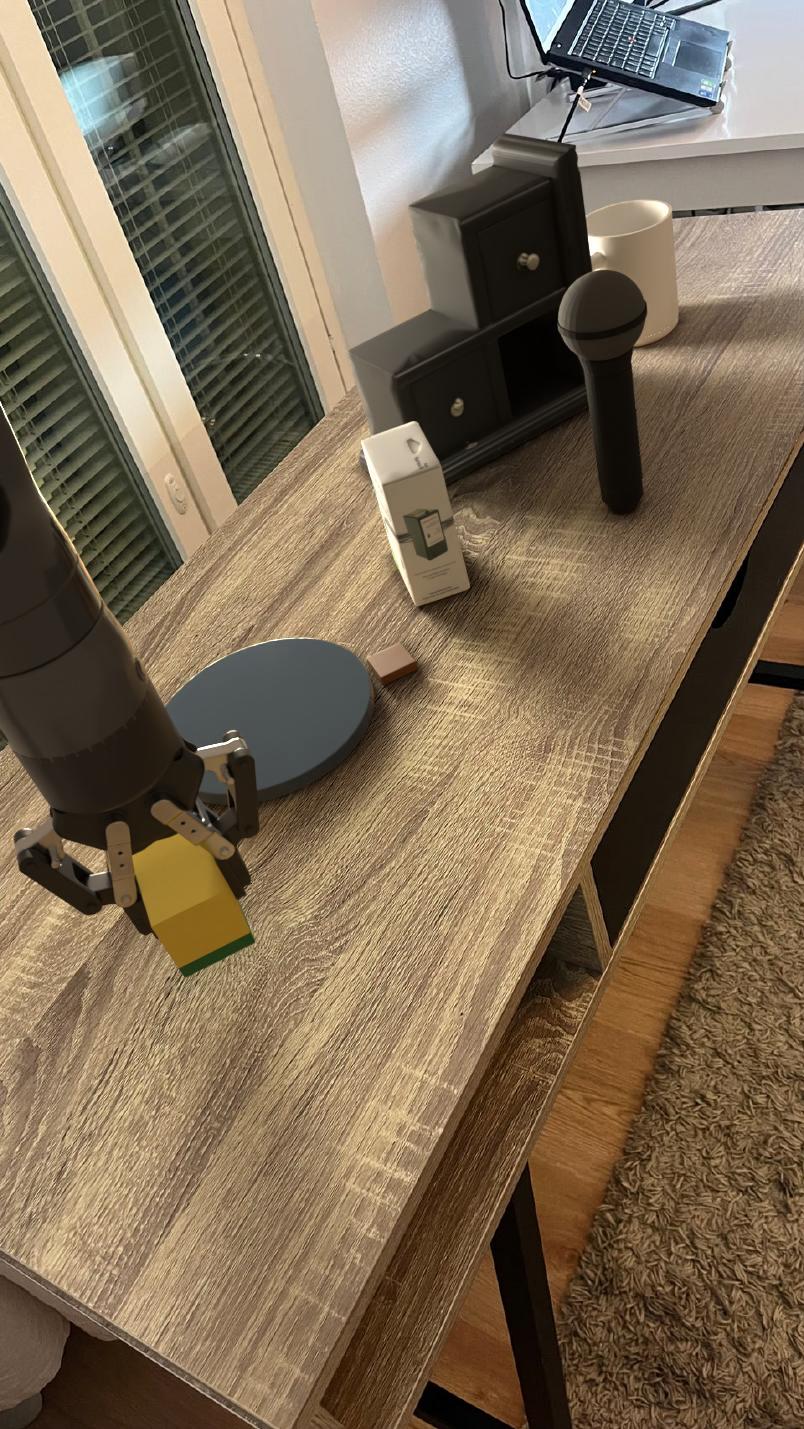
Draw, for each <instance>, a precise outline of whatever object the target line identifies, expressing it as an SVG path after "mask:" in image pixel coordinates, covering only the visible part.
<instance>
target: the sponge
mask: <svg viewBox="0 0 804 1429" xmlns="http://www.w3.org/2000/svg"><path fill="white" fill-rule="evenodd" d="M132 857H133V865H134V872H135V875H136V878H137V882H138V885H139V888H140V892H141V895H142V898H143V901H144V905H145V908H146V911H147V915H148V918H149V921H150V925H151V928H152V929H153V931H154V932H155V934H156V935H157V937H158V938H159V939H158V940H159V941H160V943H161V945H162V946H163V947H164V949H165V951H166V952H167V953H168V955H169V956H170V959H172V961H173V963H174V964H175V966H176V967H177V968H178V970H179V971H180V973H181V974H182V976H183V977H184V978H188V977H191V976H192V975H194V974H196V973H198V972H200V971H202V970H204V969H206V968H208V967H210V966H212V965H214V964H216V963H219V962H220V961H223V960H224V959H226V958H228V957H230V956H232V955H234V954H236V953H239V952H240V951H242V950H244V949H246V948H249V947H250V946H252V945H254V944H255V943H256V939H255V936H254V934H253V932H252V929H251V927H250V925H249V922H248V919H247V917H246V915H245V912H244V909H243V907H242V905H241V902H240V899H238V900H236V898H235V896H234V894H233V892H232V891H231V889H230V887H229V885H228V884H227V882H226V880H225V878H224V876H223V875H222V873H221V871H220V869H219V867H218V866H217V864H216V861H215V859H214V856H213V855H212V854H210V853H209V852H208V851H206V850H205V849H204V848H202V847H201V846H200V845H198V846H195V845H193V844H192V843H191V842H189V841H188V840H187V839H185V838H184V837H183V836H181V835H180V834H179V833H178V834H176V835H174V836H172V837H169V838H166V839H162V840H158V841H155V842H154V843H153V844H151V845H150V846H149V847H147V848H146V849H145V850H143V851H141V852H139V853H137V854H134V855H132Z"/></svg>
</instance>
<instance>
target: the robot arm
mask: <svg viewBox="0 0 804 1429" xmlns="http://www.w3.org/2000/svg"><path fill="white" fill-rule="evenodd" d="M34 478H35V477H34V476H33V474H32V471H31V469H30V466H29V464H28V462H27V459H26V457H25V455H24V452H23V450H22V448H21V446H20V443H19V441H18V439H17V436H16V435H15V431H14V430H13V428H12V425H11V423H10V421H9V419H8V416H7V414H6V412H5V410H4V408H3V406H2V403H1V402H0V738H1V740H2V741H3V742H5V743H6V744H7V745H8V747H9V748H10V749H11V751H12V753H13V754H14V755H15V757H16V758H17V760H18V762H19V763H20V765H21V766H22V767H23V770H25V772H26V773H27V775H28V776H29V777H30V779H31V781H32V782H33V783H34V786H36V788H37V789H38V791H39V792H40V793H41V795H42V796H43V798H44V800H45V801H46V803H47V804H48V805H49V816H50V818H49V819H47V820H46V821H45V822H43V823H42V824H41V825H40V826H38V827H37V828H35V829H33V828H29V827H26V828H24V827H23V828H21V829H19V830H17V831H16V832H15V833H14V834H13V844H14V851H15V858H16V862H17V866H18V870H19V872H20V873H21V874H23V875H25V876H26V877H27V878H29V879H30V880H32V881H33V882H35V883H36V884H38V885H39V886H41V887H43V889H45V890H46V891H48V892H50V893H51V894H53V895H54V896H56V897H57V898H59V899H60V900H62V901H63V902H65V903H66V904H68V905H69V906H71V907H72V908H74V909H75V910H77V911H79V912H80V913H81V914H83V915H85V916H93V915H96V914H98V913H100V912H101V911H102V909H103V907H105V906H108V905H109V906H110V905H116V906H117V907H118V908H121V909H122V910H123V911H124V913H125V914H126V916H127V917H128V919H129V920H130V922H131V923H132V925H133V926H134V927H135V929H136V930H137V932H138V933H139V934H141V935H143V936H145V937H146V936H149V935H150V934H152V935H153V936H154V938H155V939H156V940H159V938H158V937H157V935H156V934H155V932H154V931H153V929H152V928H151V925H150V921H149V918H148V915H147V911H146V908H145V905H144V901H143V898H142V895H141V892H140V888H139V885H138V882H137V878H136V875H135V872H134V865H133V857H132V855H134V854H137V853H139V852H141V851H143V850H145V849H146V848H147V847H149V846H150V845H151V844H153V843H154V842H155V841H158V840H162V839H166V838H169V837H172V836H174V835H176V834H178V833H179V834H180V835H181V836H183V837H184V838H185V839H187V840H188V841H189V842H191V843H192V844H193V845H195V846H198V845H200V846H201V847H202V848H204V849H205V850H206V851H208V852H209V853H210V854H212V855H213V856H214V859H215V861H216V864H217V866H218V867H219V869H220V871H221V873H222V875H223V876H224V878H225V880H226V882H227V884H228V885H229V887H230V889H231V891H232V892H233V894H234V896H235V898H236V900H238V899H239V900H240V899H242V898H244V897H246V896H247V892H246V889H245V888H246V887H247V886H250V885H251V884H252V876H251V874H250V872H249V869H248V866H247V864H246V862H245V859H244V858H243V856H242V854H241V852H240V851H239V848H238V845H239V844H240V842H241V841H242V840H244V839H252V838H254V837H256V836H257V835H258V834H259V832H260V830H261V825H260V812H259V802H258V797H257V784H256V771H255V760H254V758H253V756H252V754H251V752H250V750H249V748H248V746H247V744H246V742H245V740H244V738H243V736H242V734H241V733H240V732H239V731H236V730H233V731H229V732H227V733H226V734H225V735H224V736H223V737H222V744H217V745H213V746H208V747H204V748H199V749H198V748H197V747H196V746H195V745H194V744H193V743H191V742H189V741H187V740H185V739H184V738H183V737H182V736H181V735H180V734H179V732H178V730H177V729H176V727H175V725H174V723H173V721H172V719H171V717H170V715H169V713H168V712H167V710H166V708H165V707H166V705H165V704H164V702H163V701H162V698H161V696H160V695H159V693H158V691H157V689H156V687H155V685H154V683H153V681H152V679H151V677H150V675H149V674H148V671H147V670H146V667H145V664H144V662H143V661H142V660H141V658H140V656H139V655H138V653H137V651H136V649H135V647H134V645H133V643H132V641H131V639H130V637H129V636H128V634H127V632H126V631H125V629H124V627H123V626H122V625H121V623H120V622H119V620H118V619H117V617H116V616H115V615H114V613H113V612H112V611H111V610H110V608H109V607H108V606H107V604H106V602H105V601H104V599H103V598H102V596H101V594H100V593H99V591H98V589H97V587H96V584H95V582H94V581H93V579H92V577H91V575H90V574H89V571H88V569H87V568H86V566H85V565H84V562H83V560H82V559H81V557H80V555H79V553H78V551H77V550H76V547H75V545H74V544H73V542H72V540H71V539H70V537H69V535H68V533H67V532H66V530H65V529H64V528H63V526H62V524H61V523H60V521H59V520H58V518H57V517H56V515H55V514H54V512H53V511H52V509H51V508H50V506H49V505H48V503H47V501H46V499H45V498H44V496H43V494H42V492H41V490H40V489H39V487H38V485H37V482H36V481H35V479H34ZM205 771H211V772H213V773H215V775H216V777H217V779H218V780H219V781H220V782H222V783H226V791H227V801H228V805H227V808H228V809H227V810H226V811H225V812H223V813H222V814H221V815H220V816H219V815H218V814H216V812H214V811H213V810H211V808H209V807H208V806H207V805H206V804H204V803H205V802H202V801H201V799H200V798H199V797H198V792H199V789H200V786H201V783H202V779H203V776H204V773H205ZM62 840H66V841H69V842H73V843H76V844H79V845H84V846H86V847H90V848H93V849H97V850H101V851H103V854H104V860H105V867H106V871H103V872H99V873H95V872H94V871H92V870H91V869H89V867H86V866H85V865H84V864H83V863H81V862H80V861H78V860H76V859H75V858H74V857H72V856H71V855H70V854H68V853H67V852H66V851H65V847H64V843H63V841H62Z"/></svg>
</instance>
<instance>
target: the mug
mask: <svg viewBox="0 0 804 1429" xmlns="http://www.w3.org/2000/svg"><path fill="white" fill-rule="evenodd" d="M585 215H586V222H587V230H588V239H589V247H590V255H591V262H592V270H593V271H596V270H613V271H617V272H620V273H622V274H624V275H626V276H628V277H629V278H630V279H631V280H633V281H634V282H635V284H636V285H637V286H638V288H639V289H640V290H641V293H642V295H643V297H644V300H645V301H646V304H647V312H648V313H647V317H646V320H645V324H644V328H643V331H642V333H641V336H640V337H639V339H638V340H637V342H636V343H635V345H634V348H637V347H642V346H646V345H649V344H652V343H655V342H657V341H659V340H662V339H663V338H664V337H666V336H667V335H669V334H670V333H671V332H672V331H673V330H674V329H675V328H676V326H677V324H678V323H679V310H680V309H679V296H678V281H677V280H678V279H677V266H676V251H675V237H674V236H675V234H674V220H673V207H672V206H671V205H670V203H668V202H665V201H663V200H658V199H647V198H646V199H645V198H644V199H634V200H631V199H630V200H626V201H619V202H615V203H613V204H609V205H606V206H603V207H600V208H598V209H595V210H593V211H591V212H589V213H588V214H585ZM677 317H678V318H677ZM676 319H677V320H676ZM675 321H676V322H675ZM674 322H675V323H674ZM673 323H674V324H673ZM668 327H669V328H668ZM664 329H665V330H664ZM659 332H660V333H659ZM654 334H655V335H654ZM651 335H652V336H651ZM648 336H649V337H648ZM645 337H646V338H645Z"/></svg>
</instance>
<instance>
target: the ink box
mask: <svg viewBox="0 0 804 1429" xmlns="http://www.w3.org/2000/svg"><path fill="white" fill-rule="evenodd" d="M360 443H361V447H362V449H363V451H364V454H365V458H366V462H367V465H368V469H369V472H370V473H369V472H368V473H369V475H370V478H371V479H370V480H371V483H372V486H373V489H374V493H375V497H376V501H377V504H378V507H379V511H380V514H381V518H382V522H383V525H384V528H385V532H386V536H387V539H388V542H389V547H390V548H391V549H390V550H391V554H392V558H393V560H394V562H395V565H396V567H397V569H398V572H399V573H400V576H401V578H402V580H403V582H404V584H405V586H406V589H407V591H408V593H409V595H410V597H411V599H412V601H413V603H414V605H415V606H416V607H420V606H421V607H422V606H425V605H426V604H431V603H433V602H437V601H438V600H442V599H444V598H447V597H450V596H453V595H456V594H458V593H463V592H465V591H467V590H469V589H470V588H471V585H470V584H471V583H470V580H469V575H468V572H467V567H466V563H465V559H464V556H463V551H462V547H461V543H460V539H459V535H458V531H457V526H456V522H455V518H454V514H453V510H452V505H451V501H450V498H449V493H448V489H447V485H446V484H445V480H444V476H443V472H442V468H441V465H440V463H439V460H438V459H437V457H436V455H435V454H434V452H433V450H432V448H431V446H430V444H429V442H428V441H427V439H426V437H425V435H424V433H423V431H422V430H421V428H420V426H419V423H417V422H416V421H415V422H414V421H413V422H409V423H407V424H404V425H401V426H398V427H396V428H393V429H390V430H387V431H384V432H381V433H378V434H375V435H372V436H371V435H370V436H367V437H364V438H361V440H360Z"/></svg>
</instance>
